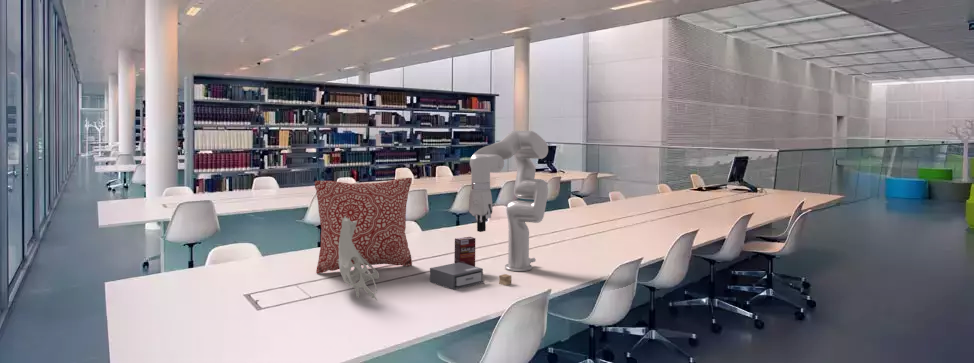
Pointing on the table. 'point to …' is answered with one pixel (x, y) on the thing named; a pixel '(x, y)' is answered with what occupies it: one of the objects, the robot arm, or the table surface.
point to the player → (453, 274)
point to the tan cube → (505, 279)
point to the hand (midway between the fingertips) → (481, 231)
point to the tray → (468, 279)
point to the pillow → (364, 221)
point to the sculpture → (350, 253)
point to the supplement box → (465, 250)
